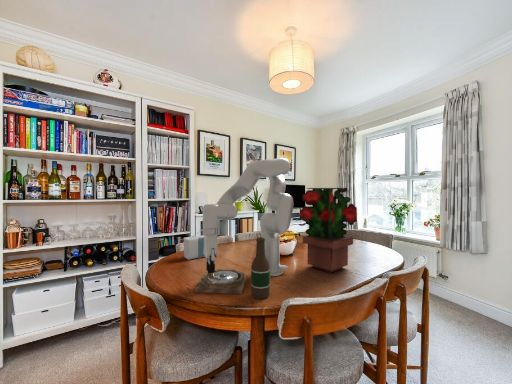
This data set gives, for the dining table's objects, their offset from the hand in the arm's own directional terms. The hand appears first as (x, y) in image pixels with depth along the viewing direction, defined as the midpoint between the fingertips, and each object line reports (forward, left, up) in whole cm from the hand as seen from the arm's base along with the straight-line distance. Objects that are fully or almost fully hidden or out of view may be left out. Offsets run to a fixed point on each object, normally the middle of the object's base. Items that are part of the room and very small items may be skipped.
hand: (210, 271), depth 111 cm
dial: (-5, -3, -5) cm, 8 cm away
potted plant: (-59, -30, -7) cm, 67 cm away
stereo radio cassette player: (+19, -47, -7) cm, 51 cm away
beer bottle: (-23, +8, -7) cm, 26 cm away
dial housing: (-5, -3, -7) cm, 9 cm away
